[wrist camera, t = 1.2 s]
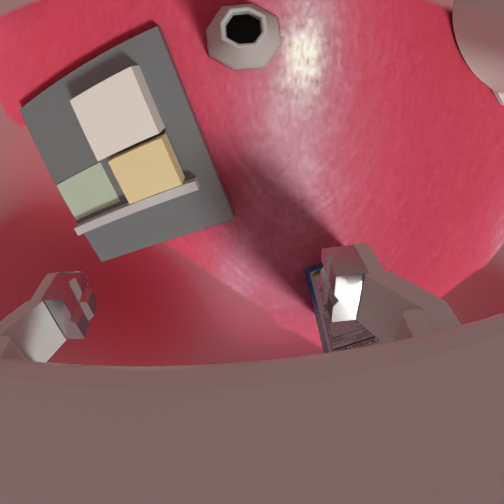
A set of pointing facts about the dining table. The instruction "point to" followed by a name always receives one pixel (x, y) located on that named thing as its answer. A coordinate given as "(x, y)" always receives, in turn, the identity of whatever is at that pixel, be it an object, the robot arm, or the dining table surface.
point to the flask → (243, 36)
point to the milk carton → (335, 333)
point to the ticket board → (180, 135)
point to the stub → (147, 169)
